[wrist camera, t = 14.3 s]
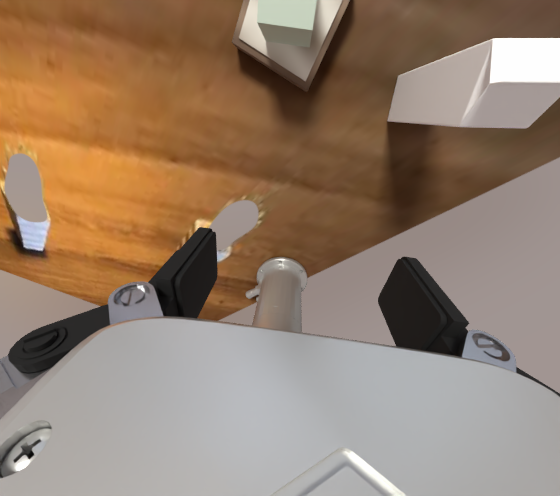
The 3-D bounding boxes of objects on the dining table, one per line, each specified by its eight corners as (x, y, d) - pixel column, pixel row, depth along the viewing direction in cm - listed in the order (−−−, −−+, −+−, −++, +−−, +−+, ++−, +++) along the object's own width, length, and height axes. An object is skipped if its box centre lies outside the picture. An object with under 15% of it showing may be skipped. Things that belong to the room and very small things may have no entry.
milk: (397, 75, 32) (531, 19, 14) (439, 75, 32) (635, 18, 13) (386, 122, 36) (482, 128, 17) (424, 123, 35) (566, 130, 16)
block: (309, 47, 29) (312, 30, 23) (265, 41, 29) (257, 22, 23) (319, -20, 26) (325, -59, 20) (269, -27, 26) (261, -68, 20)
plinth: (306, 92, 34) (307, 90, 32) (237, 47, 32) (231, 41, 29) (353, -8, 28) (359, -22, 26) (272, -72, 26) (268, -93, 23)
